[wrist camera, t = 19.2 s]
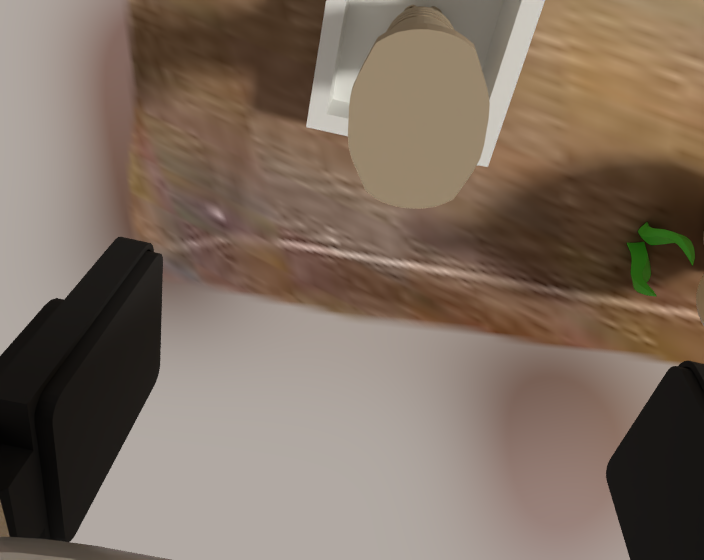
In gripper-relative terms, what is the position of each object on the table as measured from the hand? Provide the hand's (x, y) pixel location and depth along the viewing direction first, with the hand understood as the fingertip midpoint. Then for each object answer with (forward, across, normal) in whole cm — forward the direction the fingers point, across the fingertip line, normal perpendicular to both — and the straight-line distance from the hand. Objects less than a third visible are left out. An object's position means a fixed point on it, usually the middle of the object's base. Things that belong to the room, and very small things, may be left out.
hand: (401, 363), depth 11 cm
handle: (+28, 0, 0) cm, 28 cm away
